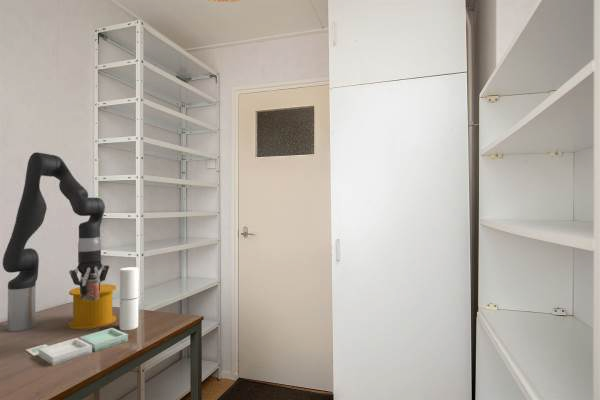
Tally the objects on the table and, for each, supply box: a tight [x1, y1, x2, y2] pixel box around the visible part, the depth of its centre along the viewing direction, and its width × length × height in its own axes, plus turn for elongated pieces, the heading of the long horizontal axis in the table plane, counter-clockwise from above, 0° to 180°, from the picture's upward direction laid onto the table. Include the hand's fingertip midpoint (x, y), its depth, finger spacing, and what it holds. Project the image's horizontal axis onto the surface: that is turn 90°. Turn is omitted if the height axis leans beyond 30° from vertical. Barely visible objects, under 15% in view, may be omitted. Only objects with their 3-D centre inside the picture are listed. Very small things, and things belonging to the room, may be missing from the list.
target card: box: [25, 343, 49, 357], centre depth 125 cm, size 8×6×1 cm
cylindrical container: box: [119, 266, 140, 331], centre depth 148 cm, size 7×7×25 cm
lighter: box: [81, 273, 99, 300], centre depth 133 cm, size 8×3×10 cm, turn 70°
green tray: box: [79, 327, 129, 352], centre depth 132 cm, size 12×12×2 cm
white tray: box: [38, 337, 93, 366], centre depth 122 cm, size 12×12×2 cm
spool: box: [68, 283, 117, 330], centre depth 154 cm, size 18×18×15 cm
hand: (90, 293), depth 133 cm, fingers closed on lighter, 3 cm apart
